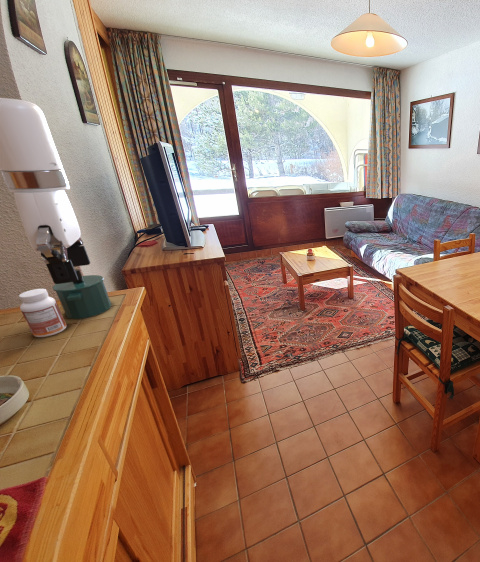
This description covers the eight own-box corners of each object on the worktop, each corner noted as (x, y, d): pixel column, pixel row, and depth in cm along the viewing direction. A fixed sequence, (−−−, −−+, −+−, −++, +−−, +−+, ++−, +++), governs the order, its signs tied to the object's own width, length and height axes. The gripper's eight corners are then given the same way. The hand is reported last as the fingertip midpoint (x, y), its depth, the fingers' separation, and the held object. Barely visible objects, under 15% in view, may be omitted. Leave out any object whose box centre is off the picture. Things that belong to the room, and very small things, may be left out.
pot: (59, 326, 81) (46, 298, 78) (74, 303, 93) (63, 277, 90) (106, 317, 86) (96, 290, 82) (115, 296, 98) (106, 272, 94)
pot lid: (48, 297, 80) (40, 280, 78) (60, 282, 88) (54, 267, 86) (100, 289, 85) (94, 273, 83) (107, 276, 93) (102, 261, 91)
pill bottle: (44, 326, 81) (26, 288, 77) (72, 323, 83) (56, 286, 78) (27, 339, 76) (6, 299, 71) (57, 336, 77) (39, 296, 73)
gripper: (27, 177, 58) (61, 262, 65) (-20, 187, 45) (30, 294, 51) (79, 176, 62) (107, 257, 68) (50, 185, 48) (89, 285, 55)
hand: (74, 273), depth 60 cm, fingers open, 9 cm apart
